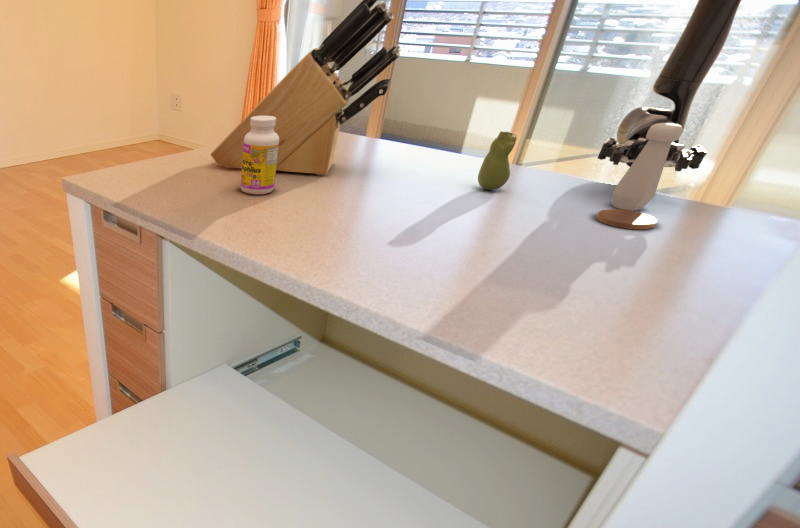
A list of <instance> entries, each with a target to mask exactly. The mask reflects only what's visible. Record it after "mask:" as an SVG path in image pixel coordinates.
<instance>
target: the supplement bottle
mask: <svg viewBox="0 0 800 528" xmlns="http://www.w3.org/2000/svg"><path fill="white" fill-rule="evenodd" d="M250 125H251V131H250V132H249V133H247V134H246V135H245V137H244V144H243V158H242V168H241V173H240V185H239V186H240V187H239V188H240V190H241V192H243V193H245V194H249V195H254V196H255V195H256V196H257V195H258V196H259V195H260V196H262V195H266V194H269V193H271V192H273V190H274V188H275V182H276V172H277V170H276V165H277V155H278V147H279V136H278V134H277V133H275V132H274V127H275V125H276V117H273V116H254V117H251V120H250Z"/></svg>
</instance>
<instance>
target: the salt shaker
mask: <svg viewBox="0 0 800 528" xmlns="http://www.w3.org/2000/svg"><path fill="white" fill-rule="evenodd" d="M682 130H683V129H682V127H681V125H678V124H674V123H657V124H654V125H652V126H651V127H650V129H649V130H648V132H647V135H646V138H647V139H648V140H649V141H648V142H647V144H646V145H645V147H644V148H643V150H642V151H641V152H640V154H639V155H638V157H637V158H636V160H635V161H634V162H633V164H632V165H631V167H629V168H628V169H627V170H626V172H625V173H624V175H623V176H622V178H621V179H620V180H619V182H618V183H617V184H616V186H615V187H614V189H613V192H612V207H614V208H615V209H620V210H630V211H635V212H637V211H641V210H643V209H644V208H645V207H646V205H648V204H649V203H650V202H651V201H652V200H653V199H654V197H655V195H656V192H657V190H658V186H659V183H660V180H661V177H662V174H663V171H664V168H665V167H664V165H665V162H666V159H667V156H668V153H669V150H670V146H671V143H672V142H674V141H677V140H678V139H679V140H680V138H681V136H682V135H681V133H682ZM683 131H684V130H683ZM682 134H683V133H682ZM680 135H681V136H680ZM679 137H680V138H679Z"/></svg>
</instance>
